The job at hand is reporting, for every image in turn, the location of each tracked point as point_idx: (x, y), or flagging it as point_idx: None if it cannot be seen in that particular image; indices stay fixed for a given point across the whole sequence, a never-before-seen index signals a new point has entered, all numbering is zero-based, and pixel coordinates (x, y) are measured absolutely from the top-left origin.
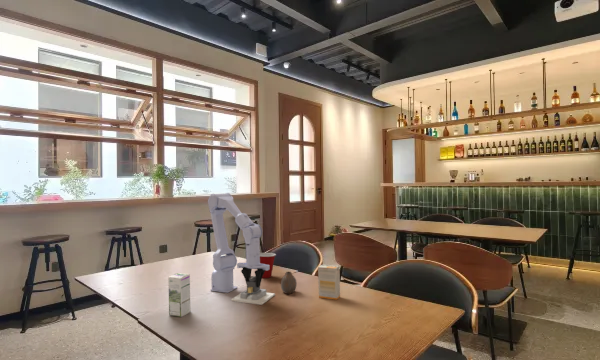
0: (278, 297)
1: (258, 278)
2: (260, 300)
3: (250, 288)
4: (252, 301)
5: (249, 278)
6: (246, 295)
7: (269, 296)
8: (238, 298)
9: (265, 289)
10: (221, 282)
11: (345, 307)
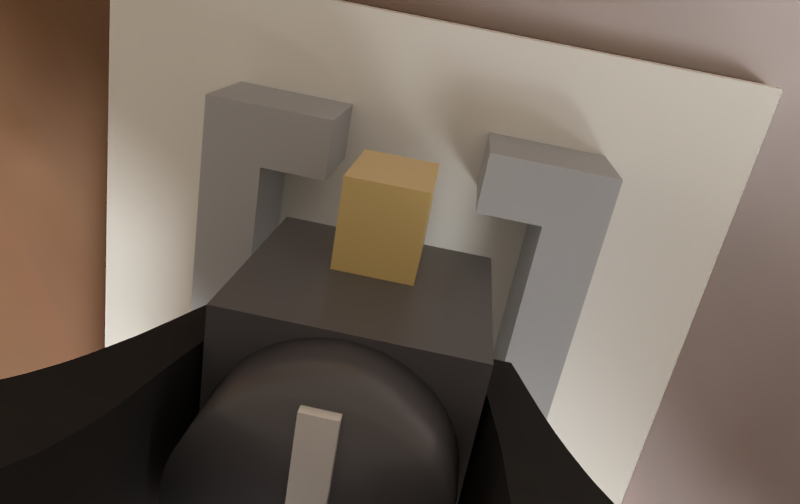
0: (30, 329)
1: (37, 373)
2: (184, 78)
3: (350, 176)
4: (308, 2)
5: (393, 427)
6: (481, 175)
7: (122, 290)
8: (641, 136)
9: None
10: None
11: None
